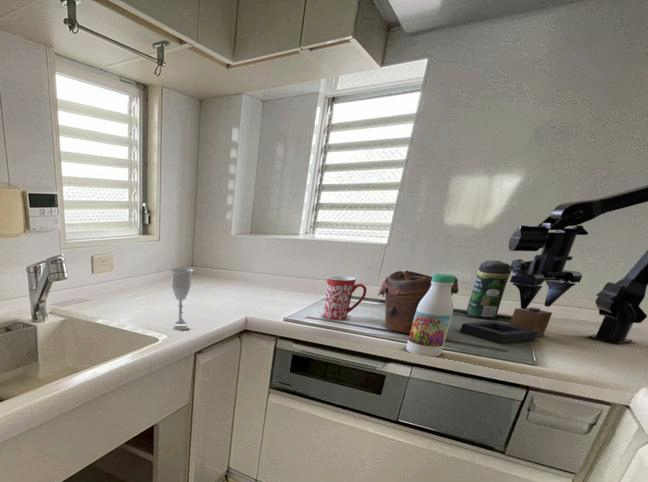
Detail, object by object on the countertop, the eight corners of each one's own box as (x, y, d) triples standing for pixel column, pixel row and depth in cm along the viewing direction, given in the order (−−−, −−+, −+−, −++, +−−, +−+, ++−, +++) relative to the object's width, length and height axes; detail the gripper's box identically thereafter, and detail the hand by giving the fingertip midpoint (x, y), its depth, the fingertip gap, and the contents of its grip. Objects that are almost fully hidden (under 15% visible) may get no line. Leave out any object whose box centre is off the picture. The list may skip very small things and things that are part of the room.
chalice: (165, 325, 130) (166, 268, 123) (183, 323, 132) (185, 267, 125) (175, 331, 123) (177, 272, 116) (194, 329, 126) (197, 270, 119)
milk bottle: (408, 345, 110) (427, 271, 102) (442, 351, 106) (465, 274, 98) (403, 353, 105) (423, 275, 97) (438, 359, 100) (462, 278, 92)
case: (380, 318, 138) (392, 264, 131) (450, 329, 125) (468, 270, 118) (363, 328, 126) (375, 270, 119) (438, 342, 113) (457, 277, 106)
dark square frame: (491, 328, 125) (493, 320, 124) (534, 340, 114) (538, 331, 113) (460, 331, 123) (462, 323, 122) (501, 343, 112) (504, 335, 111)
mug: (319, 318, 137) (325, 278, 132) (321, 313, 144) (328, 274, 139) (360, 323, 132) (368, 281, 126) (360, 317, 139) (368, 277, 134)
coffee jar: (462, 311, 146) (478, 258, 138) (489, 313, 143) (507, 259, 136) (469, 317, 137) (487, 262, 130) (498, 320, 135) (518, 263, 127)
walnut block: (519, 329, 124) (528, 305, 121) (543, 335, 118) (553, 310, 115) (507, 331, 123) (515, 306, 120) (530, 337, 117) (540, 311, 114)
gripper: (547, 248, 121) (528, 300, 127) (499, 250, 116) (482, 303, 122) (593, 251, 111) (570, 307, 117) (543, 254, 106) (522, 312, 112)
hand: (535, 307), depth 117 cm, fingers open, 9 cm apart
